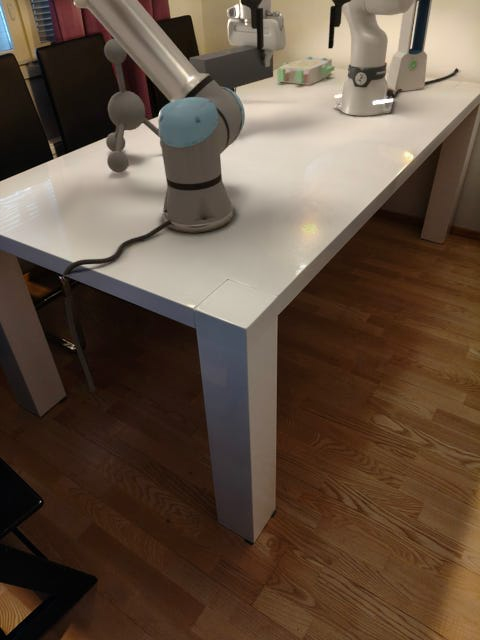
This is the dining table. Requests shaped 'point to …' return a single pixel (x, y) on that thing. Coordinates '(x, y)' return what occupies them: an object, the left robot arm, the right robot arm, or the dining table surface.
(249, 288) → the dining table surface
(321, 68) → the decorative block
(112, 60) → the molecular model
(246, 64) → the box
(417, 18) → the electronic device
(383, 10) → the right robot arm
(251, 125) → the dining table surface
